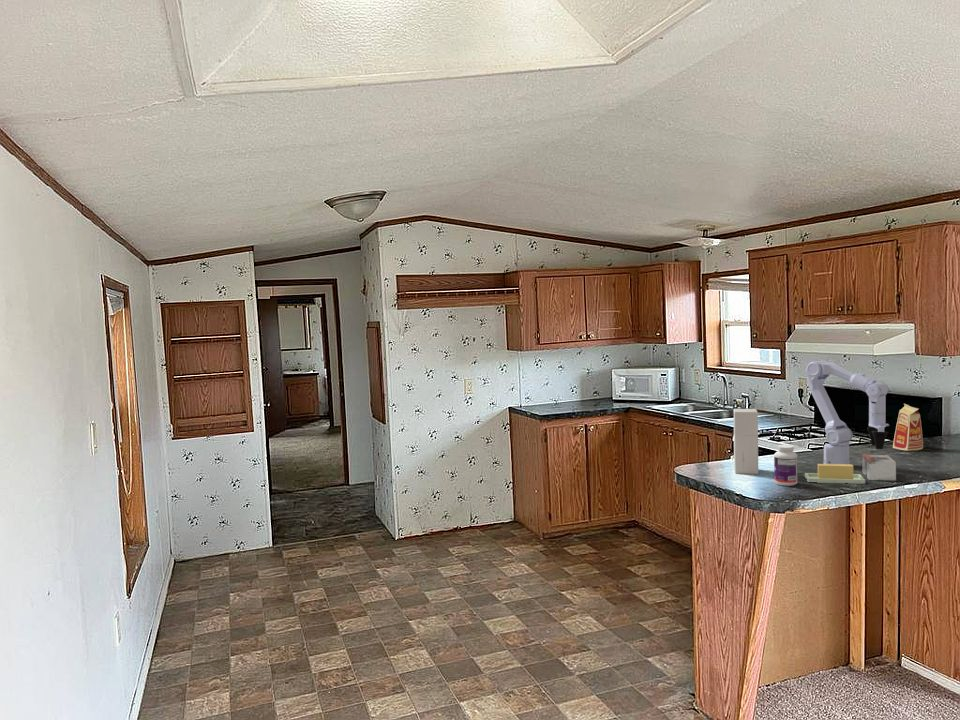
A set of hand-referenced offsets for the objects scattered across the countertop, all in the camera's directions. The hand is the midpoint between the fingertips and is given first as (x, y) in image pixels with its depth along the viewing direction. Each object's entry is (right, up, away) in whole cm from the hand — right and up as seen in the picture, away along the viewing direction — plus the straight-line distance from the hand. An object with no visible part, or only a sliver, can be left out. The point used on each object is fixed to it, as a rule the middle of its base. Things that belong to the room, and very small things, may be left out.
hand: (877, 447), depth 303 cm
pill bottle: (-41, -13, -13) cm, 44 cm away
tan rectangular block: (-21, -11, -10) cm, 26 cm away
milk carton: (+36, -6, +42) cm, 56 cm away
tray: (-21, -11, -10) cm, 26 cm away
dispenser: (-3, -11, -6) cm, 12 cm away
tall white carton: (-48, -11, +10) cm, 50 cm away
